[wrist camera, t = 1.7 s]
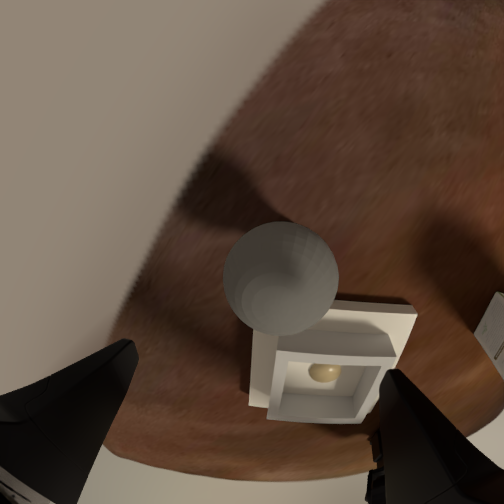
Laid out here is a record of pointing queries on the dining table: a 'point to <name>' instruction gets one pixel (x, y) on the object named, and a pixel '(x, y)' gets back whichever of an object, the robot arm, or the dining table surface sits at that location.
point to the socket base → (329, 363)
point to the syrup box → (493, 332)
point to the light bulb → (280, 278)
